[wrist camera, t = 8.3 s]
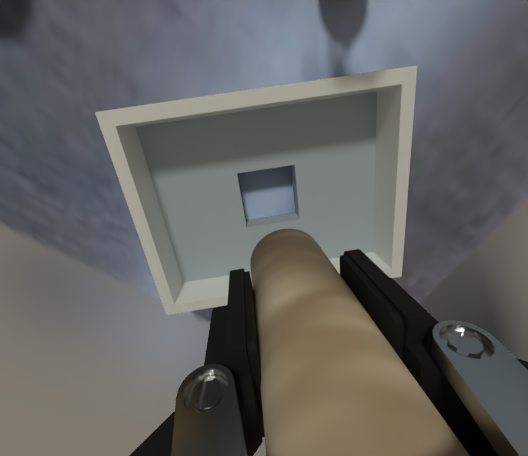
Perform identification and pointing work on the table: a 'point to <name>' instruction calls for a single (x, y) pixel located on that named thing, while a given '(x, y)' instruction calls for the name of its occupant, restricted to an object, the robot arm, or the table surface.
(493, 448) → the robot arm
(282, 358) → the peg
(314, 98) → the tray
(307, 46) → the table surface
